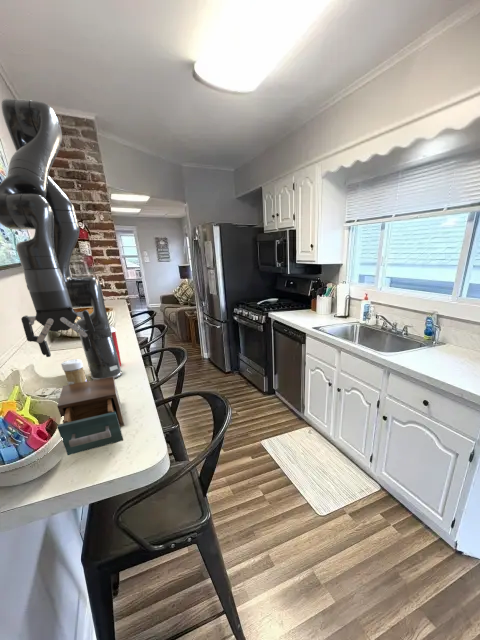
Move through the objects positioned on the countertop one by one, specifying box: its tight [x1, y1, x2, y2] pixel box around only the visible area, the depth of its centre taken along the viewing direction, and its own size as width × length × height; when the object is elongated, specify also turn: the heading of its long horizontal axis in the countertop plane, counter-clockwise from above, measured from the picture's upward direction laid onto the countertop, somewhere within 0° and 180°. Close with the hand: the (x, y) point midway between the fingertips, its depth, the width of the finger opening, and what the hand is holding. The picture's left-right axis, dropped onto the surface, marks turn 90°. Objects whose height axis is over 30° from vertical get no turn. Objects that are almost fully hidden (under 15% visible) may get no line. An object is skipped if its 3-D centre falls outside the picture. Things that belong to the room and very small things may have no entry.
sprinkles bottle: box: [61, 358, 88, 385], centre depth 84 cm, size 5×5×14 cm
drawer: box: [57, 398, 124, 456], centre depth 68 cm, size 17×10×7 cm, turn 30°
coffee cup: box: [110, 325, 122, 367], centre depth 116 cm, size 8×8×15 cm
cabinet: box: [56, 377, 125, 427], centre depth 78 cm, size 14×12×9 cm
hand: (68, 353), depth 81 cm, fingers open, 8 cm apart
